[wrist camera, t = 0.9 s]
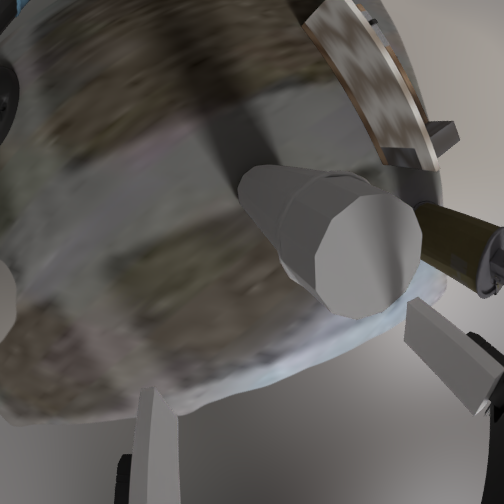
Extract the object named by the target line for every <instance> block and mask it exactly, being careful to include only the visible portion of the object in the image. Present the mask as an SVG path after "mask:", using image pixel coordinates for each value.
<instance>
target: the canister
mask: <svg viewBox="0 0 504 504" xmlns="http://www.w3.org/2000/svg"><path fill="white" fill-rule="evenodd" d="M413 211H414V213H415V216H416V218H417V221H418V223H419V226H420V229H421V232H422V245H421V256H420V259H421V260H423V261H424V262H426V263H428V264H430V265H431V266H433V267H435V268H436V269H438V270H440V271H441V272H443V273H445V274H447V275H448V276H450V277H452V278H453V279H455V280H456V281H458V282H460V283H461V284H463V285H465V286H466V287H468V288H469V289H471V290H473V291H474V292H476V293H477V294H478V295H479V297H480V298H484V299H485V298H488V297H490V296H491V295H493V294H494V295H496V294H497V293H498V292H499V290H500V289H501V288H502V286H503V285H504V227H499V226H496V225H493V224H491V223H488V222H485V221H483V220H480V219H477V218H475V217H472V216H469V215H466V214H463V213H460V212H457V211H454V210H451V209H448V208H445V207H442V206H438V205H436V204H434V203H433V202H430V201H425V202H421V203H419V204H418V205H416V206H415V207H414V208H413Z"/></svg>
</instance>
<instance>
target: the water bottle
mask: <svg viewBox="0 0 504 504" xmlns="http://www.w3.org/2000/svg"><path fill="white" fill-rule="evenodd" d="M237 190H238V197H239V203H240V204H241V206H242V207H243V208H244V210H245V211H246V212H247V213H248V215H249V216H250V217H251V218H252V219H253V221H254V222H255V223H256V224H257V226H258V227H259V228H260V229H261V231H262V232H263V233H264V234H265V236H266V237H267V238H268V239H269V241H270V242H271V243H272V244H273V246H274V247H275V248H276V250H277V251H278V254H279V259H280V263H281V264H282V266H283V268H284V269H285V271H286V273H287V274H288V276H289V278H290V279H292V280H294V281H295V282H297V283H299V284H300V285H302V286H303V287H304V288H305V289H306V290H308V291H309V292H310V293H311V294H312V295H313V296H314V297H315V298H316V299H317V300H318V301H319V302H321V303H322V304H323V305H324V306H325V307H326V308H327V309H328V310H329V311H330V312H331V313H333V314H336V315H340V316H344V317H348V318H352V319H356V320H358V319H362V318H365V317H368V316H371V315H374V314H377V313H380V312H383V311H385V310H386V309H387V308H388V307H389V306H390V305H391V304H392V303H394V302H395V301H396V300H397V299H398V298H399V297H400V296H401V295H402V294H403V293H405V292H406V290H407V288H408V286H409V284H410V282H411V280H412V278H413V276H414V274H415V272H416V270H417V268H418V266H419V264H420V256H421V245H422V232H421V229H420V226H419V223H418V221H417V218H416V216H415V213H414V211H413V208H412V207H410V206H409V205H407V204H406V203H404V202H403V201H402V200H400V199H399V198H397V197H396V196H394V195H393V194H391V193H389V192H387V191H384V190H382V189H380V188H377V187H375V186H372V185H370V183H369V182H368V181H367V180H366V179H365V178H363V177H361V176H359V175H357V174H354V173H352V172H350V171H329V172H326V171H320V170H312V169H305V168H297V167H289V166H280V165H270V164H268V165H260V166H254V167H253V168H252V169H250V170H249V171H248V172H246V173H245V174H244V175H243V176H242V179H241V181H240V183H239V186H238V188H237Z"/></svg>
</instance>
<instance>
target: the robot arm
mask: <svg viewBox="0 0 504 504" xmlns="http://www.w3.org/2000/svg"><path fill="white" fill-rule="evenodd" d="M29 1H30V0H0V35H1V34H2V32H3V31H4V30H5V29H6V27H7V26H8V25H9V24H10V23H11V21H12V20H13V19H14V18H15V17H17V16H18V15H19V13H20V11H21V10H22V9H23V7H24V6H25V5H26V4H27V3H28V2H29ZM18 100H19V83H18V79H17V76H16V74H15V73H14V72H13V71H12V70H11V69H9V68H6V67H3V66H0V145H1V143H2V142H3V141H4V139H5V137H6V136H7V134H8V132H9V130H10V128H11V125H12V123H13V120H14V117H15V114H16V110H17V106H18ZM404 342H405V343H406V344H407V345H408V346H409V347H410V348H411V349H412V350H413V351H414V352H415V353H416V354H417V355H418V356H419V357H420V358H421V359H422V360H423V361H424V362H425V363H426V364H427V365H428V366H429V368H430V369H431V370H432V371H433V372H434V373H435V374H436V375H437V376H438V377H439V378H440V379H441V380H442V381H443V382H444V384H446V386H447V387H448V388H449V389H450V390H451V391H452V392H453V393H454V394H455V395H456V397H457V398H458V399H459V400H460V401H461V402H462V403H463V404H464V405H465V407H466V408H467V409H468V410H469V411H470V412H471V413H472V414H473V415H474V416H475V415H476V414H477V413H478V412H479V411H480V410H481V409H483V408H484V407H485V405H486V403H487V402H488V400H490V401H491V404H490V406H489V407H488V409H487V410H486V412H485V416H487V414H488V413H489V411H490V414H489V416H490V440H489V455H488V465H487V473H486V480H485V486H484V492H483V497H482V502H481V504H504V355H503V354H501V353H500V352H499V351H498V350H496V348H494V347H493V346H491V344H490V343H488V342H486V340H485V339H483V338H482V337H481V336H480V335H478V334H475V333H473V332H469V333H467V334H465V333H463V332H462V331H461V330H460V329H458V328H457V327H456V326H455V325H453V324H452V323H451V322H450V321H448V320H447V319H446V318H445V317H443V316H442V315H441V314H440V313H438V312H437V311H436V310H434V309H433V308H432V307H431V306H429V305H428V304H427V303H425V302H424V301H423V300H421V299H420V298H419V297H417V298H415V299H413V300H411V301H409V302H407V314H406V325H405V334H404ZM178 457H179V456H178V417H177V416H176V415H175V413H174V412H173V411H172V409H171V408H170V407H169V405H168V404H167V403H166V401H165V400H164V399H163V397H162V396H161V395H160V393H159V392H158V390H157V389H156V388H155V386H154V387H149V388H143V389H141V392H140V398H139V405H138V412H137V419H136V426H135V434H134V443H133V452H132V454H123V455H122V457H121V459H120V461H119V463H118V467H117V476H116V482H117V483H116V487H115V499H114V504H181V502H180V483H179V458H178Z"/></svg>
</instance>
